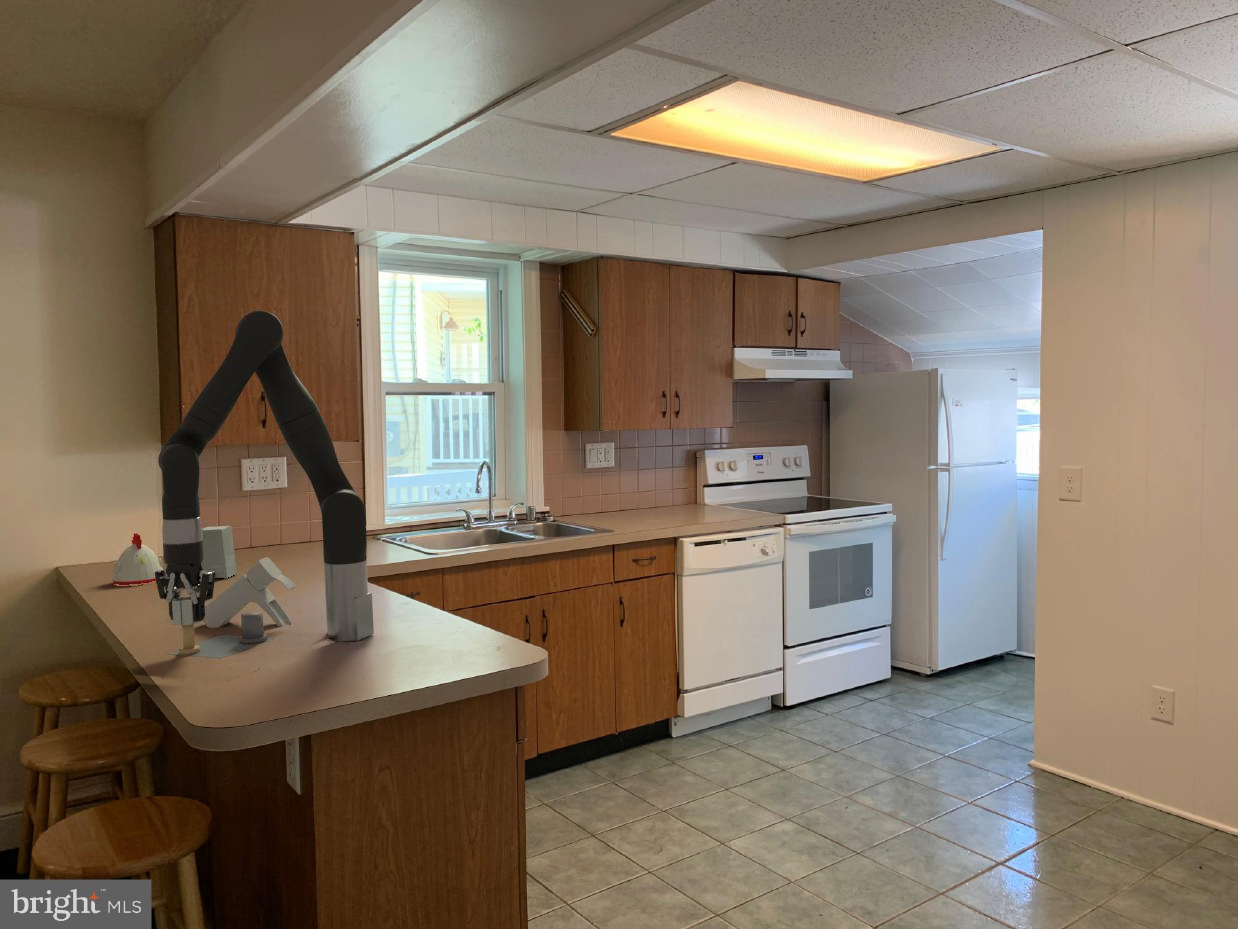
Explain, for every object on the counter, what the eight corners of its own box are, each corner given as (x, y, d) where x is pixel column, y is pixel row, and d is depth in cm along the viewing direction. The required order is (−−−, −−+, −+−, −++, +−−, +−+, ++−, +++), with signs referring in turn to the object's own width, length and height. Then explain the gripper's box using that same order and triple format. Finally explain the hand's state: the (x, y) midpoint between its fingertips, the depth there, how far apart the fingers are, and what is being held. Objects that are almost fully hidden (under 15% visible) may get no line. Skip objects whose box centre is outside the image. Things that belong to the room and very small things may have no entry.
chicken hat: (119, 589, 268) (116, 538, 267) (108, 582, 278) (105, 534, 277) (170, 582, 277) (167, 533, 276) (157, 576, 287) (154, 529, 286)
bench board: (274, 643, 201) (272, 609, 200) (221, 664, 186) (219, 627, 185) (222, 639, 205) (220, 606, 205) (167, 659, 190) (164, 623, 190)
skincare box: (237, 575, 285) (234, 525, 284) (225, 579, 278) (222, 528, 277) (211, 575, 286) (208, 525, 285) (199, 580, 279) (196, 528, 278)
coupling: (207, 619, 192) (206, 596, 192) (188, 625, 187) (186, 601, 186) (187, 618, 194) (185, 595, 193) (167, 624, 188) (165, 600, 188)
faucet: (207, 607, 218) (269, 553, 217) (253, 658, 219) (314, 605, 217) (195, 613, 212) (258, 558, 210) (241, 665, 212) (304, 611, 211)
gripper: (224, 537, 190) (228, 617, 191) (169, 536, 195) (173, 614, 196) (197, 543, 183) (201, 626, 184) (141, 541, 188) (145, 622, 189)
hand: (187, 619), depth 190 cm, fingers closed on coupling, 5 cm apart
